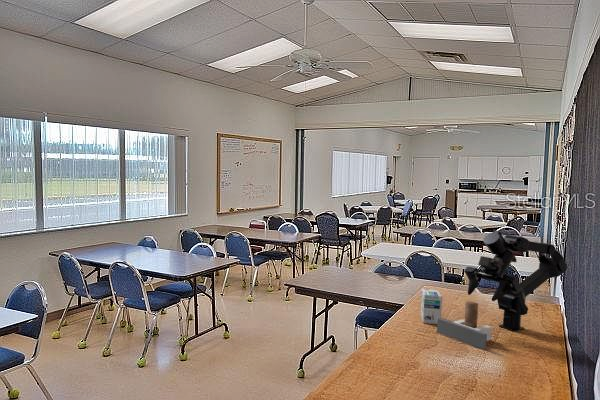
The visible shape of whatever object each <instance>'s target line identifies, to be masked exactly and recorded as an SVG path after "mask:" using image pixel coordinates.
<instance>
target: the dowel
mask: <svg viewBox="0 0 600 400" xmlns="http://www.w3.org/2000/svg"><path fill="white" fill-rule="evenodd" d="M464 305H465V307H464V309H465V310H464V319H465V321H464V325H466V326H469V327H472V328H477V327H478V312H479V303H478V302H474V301H466V302H465V304H464Z"/></svg>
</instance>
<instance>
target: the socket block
mask: <svg viewBox="0 0 600 400" xmlns="http://www.w3.org/2000/svg"><path fill="white" fill-rule="evenodd" d="M464 321H465V318H462V319H459V320H455V321H453V322H454V323H457V324H460V325H463V326H466V325H464ZM466 327H469V326H466ZM469 328H472V327H469ZM472 329H475V330H478V331H481V332H484V333H487V342H489V341H491V340H492V332H493V331H492V330H493V327H492V326H490V325H488V324H487V325H483V326H477V328H472Z"/></svg>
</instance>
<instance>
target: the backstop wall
mask: <svg viewBox="0 0 600 400" xmlns="http://www.w3.org/2000/svg"><path fill="white" fill-rule="evenodd" d="M436 327H437V330H436V333H437V334H439V333H440V335H442V334H443V335H442V336H444V335H446V336H445V337H447V336H448V338H450V337H451V339H453V338H454V339H453V340H455V339H456V341H458V342H461V343H464V344H466V345H469V346H471V347H474V348H477V349H479V350H486V349H487V342H488V341H487V333H484V332H481V331H478V330H475V329H472V328H469V327H466V326H463V325H460V324H457V323H454V321H451V320H447V319H446V318H445V319H444V318H442V317H441V318H438V323H437V324H436Z"/></svg>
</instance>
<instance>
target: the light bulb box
mask: <svg viewBox="0 0 600 400" xmlns="http://www.w3.org/2000/svg"><path fill="white" fill-rule="evenodd" d="M420 304H421V305H420V317H421V320H422V323H423V324H430V325H437V323H438V318H442V310H443V309H442V308H443V295H442V294H441V292H440V289H429V288H421V303H420Z"/></svg>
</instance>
